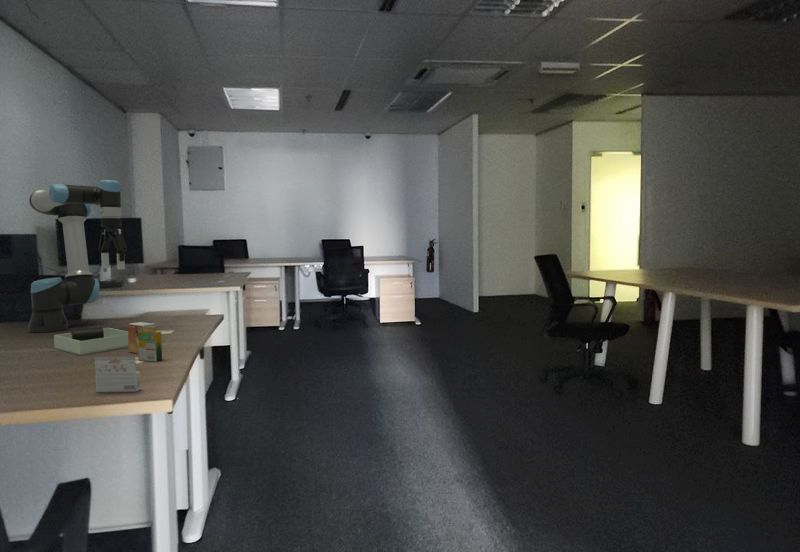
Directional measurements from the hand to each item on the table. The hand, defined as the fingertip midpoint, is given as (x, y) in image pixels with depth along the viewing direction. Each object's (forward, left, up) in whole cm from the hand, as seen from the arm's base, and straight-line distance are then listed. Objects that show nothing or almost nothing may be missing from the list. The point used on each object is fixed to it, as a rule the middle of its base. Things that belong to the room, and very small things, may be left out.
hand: (113, 268), depth 218 cm
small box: (+39, -9, -29) cm, 49 cm away
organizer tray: (+16, -15, -29) cm, 36 cm away
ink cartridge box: (+82, -38, -29) cm, 95 cm away
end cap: (+16, -18, -28) cm, 37 cm away
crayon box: (+54, -14, -29) cm, 63 cm away
